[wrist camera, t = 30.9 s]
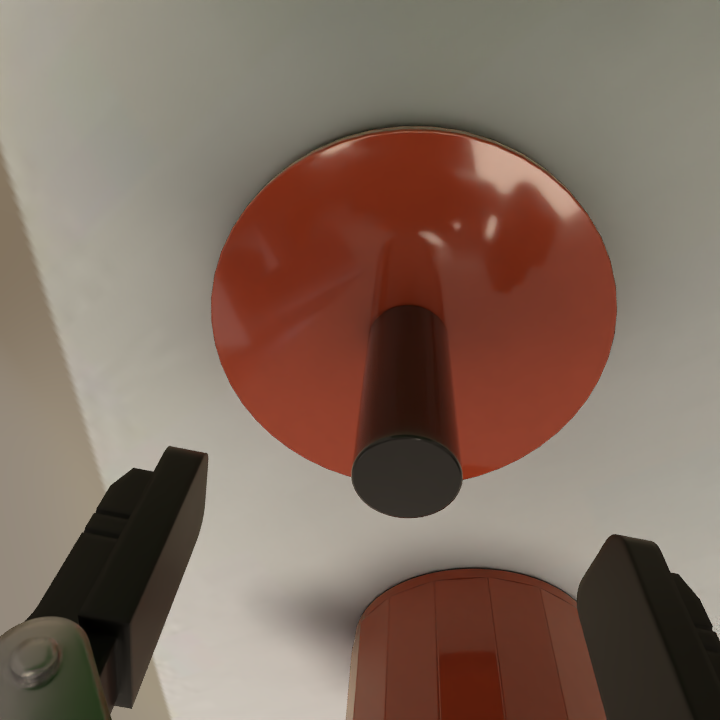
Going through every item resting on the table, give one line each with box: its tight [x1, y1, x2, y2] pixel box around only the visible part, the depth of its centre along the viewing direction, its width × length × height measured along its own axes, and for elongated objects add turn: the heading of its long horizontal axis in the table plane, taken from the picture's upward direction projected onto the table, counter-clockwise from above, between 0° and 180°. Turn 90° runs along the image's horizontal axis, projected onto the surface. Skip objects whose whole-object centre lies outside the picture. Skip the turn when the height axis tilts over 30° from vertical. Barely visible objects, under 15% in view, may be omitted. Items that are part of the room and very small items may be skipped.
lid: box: [211, 126, 617, 518], centre depth 16 cm, size 12×12×7 cm
